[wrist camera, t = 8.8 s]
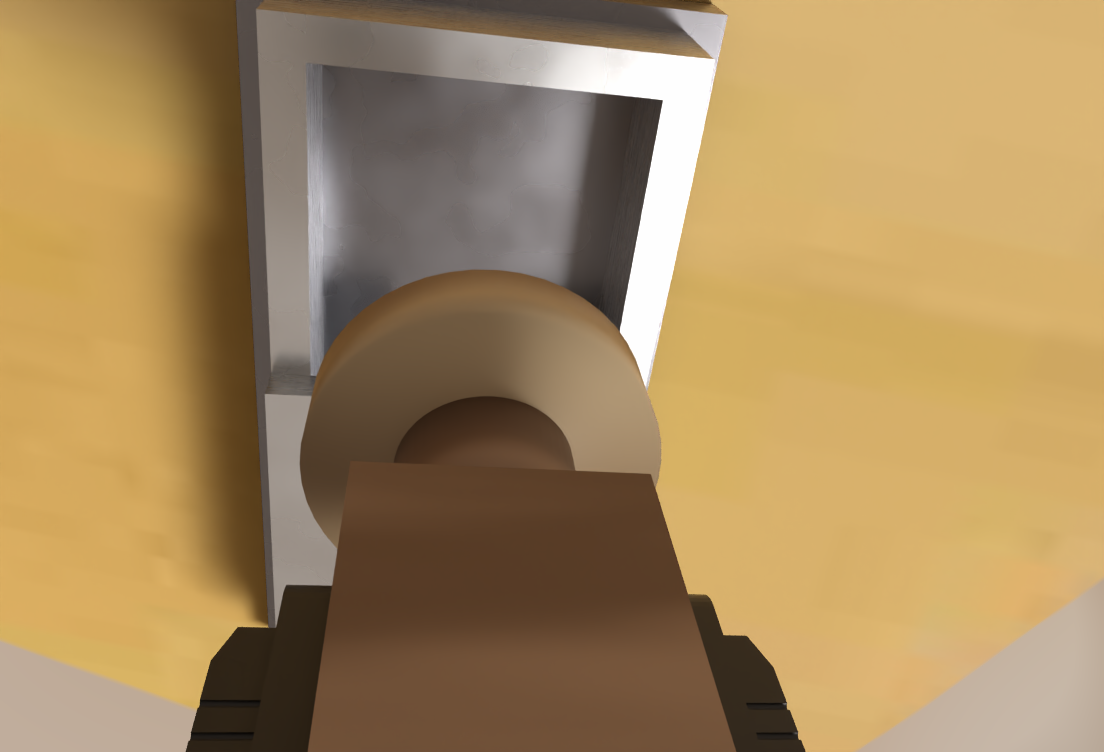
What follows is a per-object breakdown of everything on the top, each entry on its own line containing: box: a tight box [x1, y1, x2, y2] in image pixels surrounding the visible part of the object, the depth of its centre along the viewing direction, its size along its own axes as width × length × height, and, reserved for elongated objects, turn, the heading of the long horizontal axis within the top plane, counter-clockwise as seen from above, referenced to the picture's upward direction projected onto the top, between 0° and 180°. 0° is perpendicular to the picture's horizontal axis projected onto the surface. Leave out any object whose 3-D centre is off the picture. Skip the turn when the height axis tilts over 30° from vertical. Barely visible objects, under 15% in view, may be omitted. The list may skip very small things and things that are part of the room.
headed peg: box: [299, 270, 736, 752], centre depth 12 cm, size 6×6×10 cm
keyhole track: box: [236, 0, 728, 628], centre depth 27 cm, size 24×12×7 cm, turn 173°
